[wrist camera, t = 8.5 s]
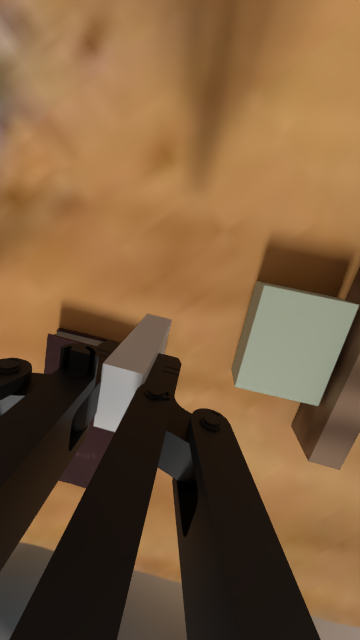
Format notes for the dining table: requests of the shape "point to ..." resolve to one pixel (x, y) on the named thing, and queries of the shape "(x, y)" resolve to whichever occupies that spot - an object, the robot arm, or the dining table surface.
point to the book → (96, 437)
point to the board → (335, 403)
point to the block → (291, 342)
